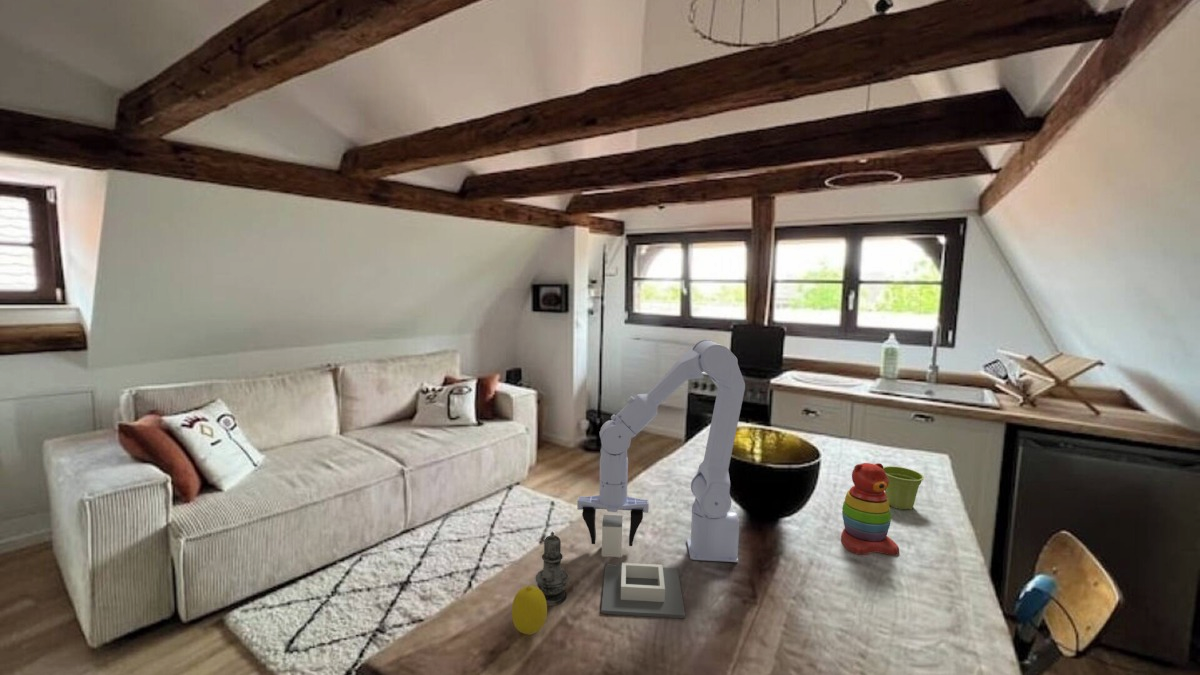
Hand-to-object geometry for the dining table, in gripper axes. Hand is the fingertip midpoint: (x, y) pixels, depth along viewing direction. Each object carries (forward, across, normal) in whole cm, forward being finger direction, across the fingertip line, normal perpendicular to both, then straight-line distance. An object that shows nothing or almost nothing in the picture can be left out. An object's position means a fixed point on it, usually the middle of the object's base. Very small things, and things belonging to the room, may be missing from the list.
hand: (612, 542), depth 105 cm
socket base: (+2, +6, -13) cm, 14 cm away
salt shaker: (+2, -10, -16) cm, 19 cm away
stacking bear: (+2, +55, +9) cm, 56 cm away
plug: (+2, 0, 0) cm, 2 cm away
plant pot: (+2, +73, +30) cm, 79 cm away
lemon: (+2, -12, -26) cm, 29 cm away
